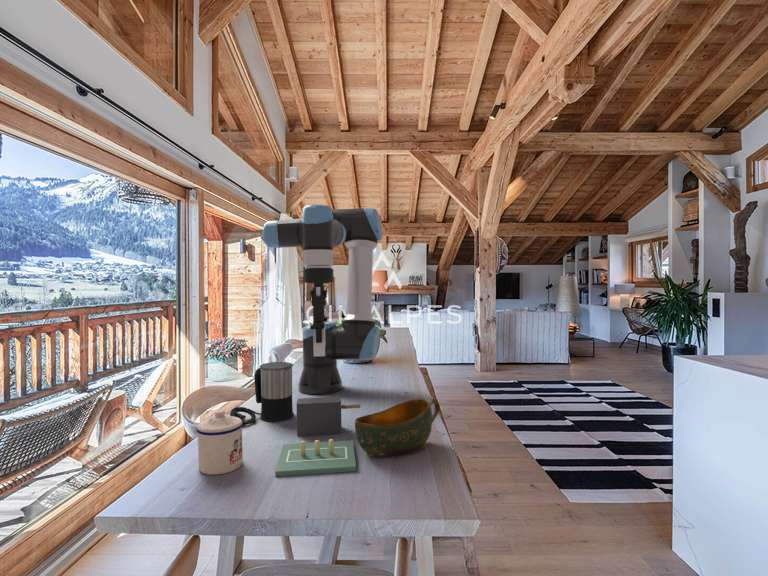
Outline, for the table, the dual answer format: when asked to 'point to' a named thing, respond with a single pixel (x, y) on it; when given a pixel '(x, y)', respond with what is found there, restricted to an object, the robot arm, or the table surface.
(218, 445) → the teacup with lid
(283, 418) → the milk frother
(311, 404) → the block
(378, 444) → the green gold gravy boat
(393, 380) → the table surface
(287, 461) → the pin board
